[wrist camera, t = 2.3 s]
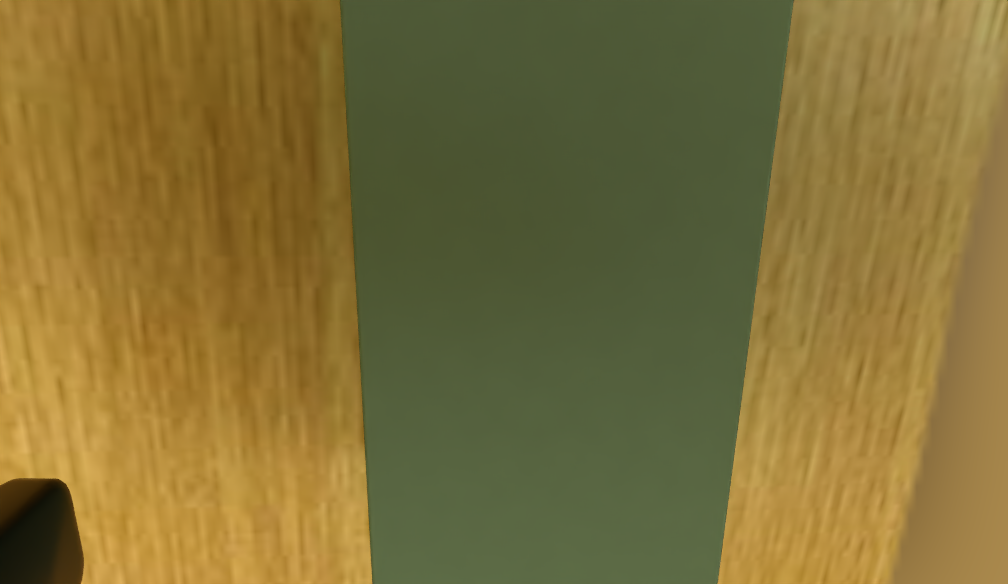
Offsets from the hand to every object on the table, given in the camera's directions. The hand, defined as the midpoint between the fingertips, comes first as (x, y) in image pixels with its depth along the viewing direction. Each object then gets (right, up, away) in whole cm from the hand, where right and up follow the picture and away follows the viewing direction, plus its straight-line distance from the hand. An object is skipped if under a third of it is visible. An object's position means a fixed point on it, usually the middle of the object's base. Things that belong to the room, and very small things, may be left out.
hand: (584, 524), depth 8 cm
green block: (0, +3, +7) cm, 8 cm away
